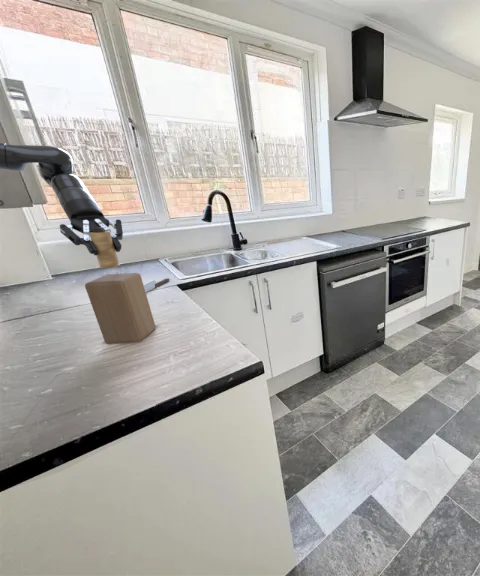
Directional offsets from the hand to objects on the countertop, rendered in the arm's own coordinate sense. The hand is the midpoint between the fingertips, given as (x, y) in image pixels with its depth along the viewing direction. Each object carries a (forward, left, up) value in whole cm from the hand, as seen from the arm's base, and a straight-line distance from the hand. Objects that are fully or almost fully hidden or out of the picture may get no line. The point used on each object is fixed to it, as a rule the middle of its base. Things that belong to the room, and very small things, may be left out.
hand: (107, 251), depth 87 cm
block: (-1, +3, -28) cm, 29 cm away
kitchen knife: (-3, +55, -28) cm, 62 cm away
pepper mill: (-1, +2, -5) cm, 5 cm away
